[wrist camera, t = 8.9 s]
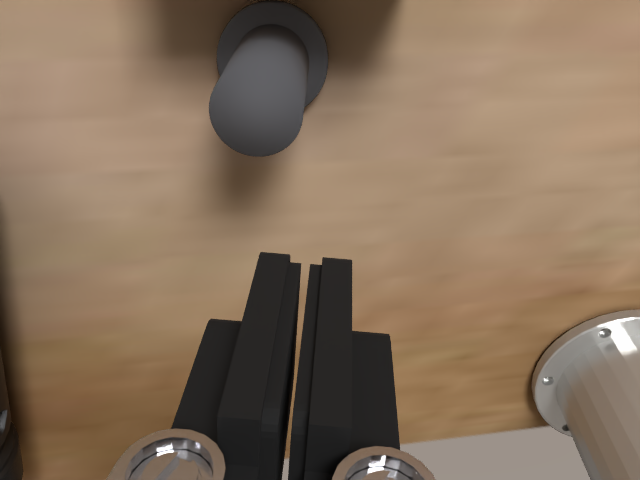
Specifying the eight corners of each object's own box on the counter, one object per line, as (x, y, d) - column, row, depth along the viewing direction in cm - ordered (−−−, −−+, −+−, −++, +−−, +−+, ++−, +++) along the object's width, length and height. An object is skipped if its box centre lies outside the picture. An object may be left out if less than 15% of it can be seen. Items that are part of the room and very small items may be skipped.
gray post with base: (331, 3, 31) (330, 45, 24) (324, 112, 35) (322, 180, 27) (217, -3, 31) (180, 36, 24) (221, 106, 35) (189, 173, 27)
